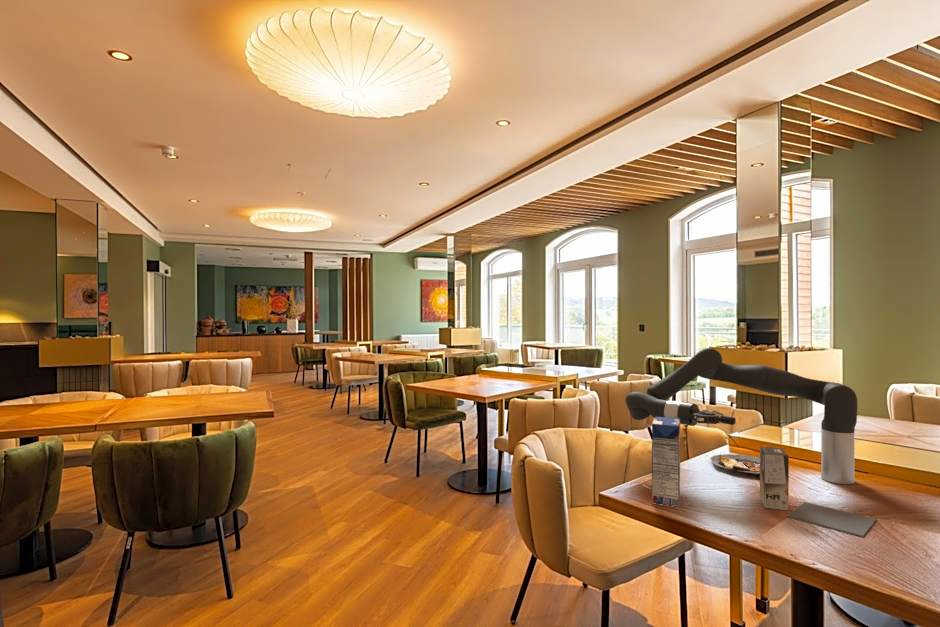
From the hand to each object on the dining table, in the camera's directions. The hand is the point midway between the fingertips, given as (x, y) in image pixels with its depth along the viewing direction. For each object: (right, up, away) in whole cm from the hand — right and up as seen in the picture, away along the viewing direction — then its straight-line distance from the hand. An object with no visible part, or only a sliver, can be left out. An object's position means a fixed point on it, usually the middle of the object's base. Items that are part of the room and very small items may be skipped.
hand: (734, 421), depth 159 cm
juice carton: (-24, -23, -5) cm, 33 cm away
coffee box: (+7, -23, -8) cm, 26 cm away
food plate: (+19, -24, +27) cm, 40 cm away
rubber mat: (+17, -23, -19) cm, 34 cm away
